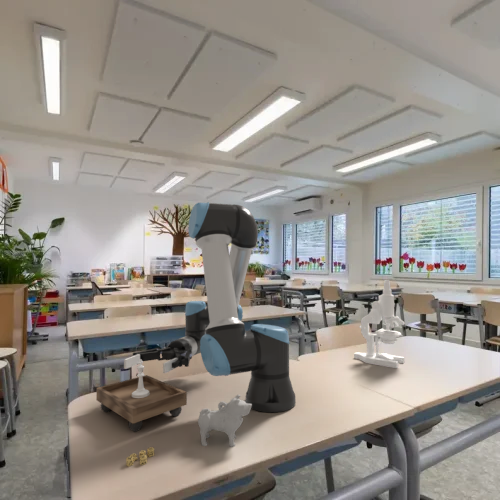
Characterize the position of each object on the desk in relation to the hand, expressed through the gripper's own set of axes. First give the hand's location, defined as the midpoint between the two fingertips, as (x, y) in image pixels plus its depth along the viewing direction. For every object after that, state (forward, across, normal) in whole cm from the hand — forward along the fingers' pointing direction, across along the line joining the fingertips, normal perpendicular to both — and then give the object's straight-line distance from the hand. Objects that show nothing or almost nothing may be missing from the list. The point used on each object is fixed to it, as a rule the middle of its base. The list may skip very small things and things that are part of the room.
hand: (144, 366), depth 102 cm
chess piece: (+2, 0, -8) cm, 8 cm away
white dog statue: (+9, -29, -13) cm, 33 cm away
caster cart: (+2, 0, -13) cm, 13 cm away
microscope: (-74, -65, -13) cm, 99 cm away
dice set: (+22, -15, -13) cm, 30 cm away
